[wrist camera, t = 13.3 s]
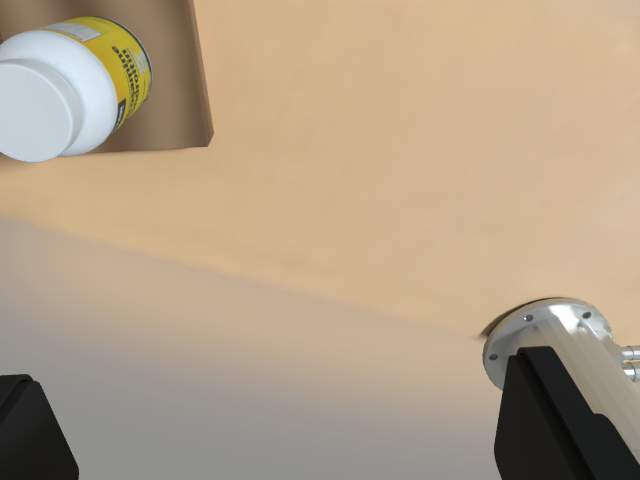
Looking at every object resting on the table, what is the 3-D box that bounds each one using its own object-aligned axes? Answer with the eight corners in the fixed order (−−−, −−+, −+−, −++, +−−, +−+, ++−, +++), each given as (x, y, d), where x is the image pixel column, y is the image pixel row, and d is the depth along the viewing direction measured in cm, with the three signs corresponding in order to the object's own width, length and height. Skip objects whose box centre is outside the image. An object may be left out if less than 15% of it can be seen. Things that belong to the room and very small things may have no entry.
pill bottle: (135, 131, 35) (69, 203, 25) (43, 84, 34) (-68, 142, 24) (170, 47, 33) (111, 91, 23) (71, -8, 31) (-40, 12, 21)
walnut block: (186, -44, 33) (175, -44, 30) (214, 133, 39) (207, 146, 36) (3, -35, 33) (-23, -34, 30) (59, 141, 39) (42, 155, 36)
